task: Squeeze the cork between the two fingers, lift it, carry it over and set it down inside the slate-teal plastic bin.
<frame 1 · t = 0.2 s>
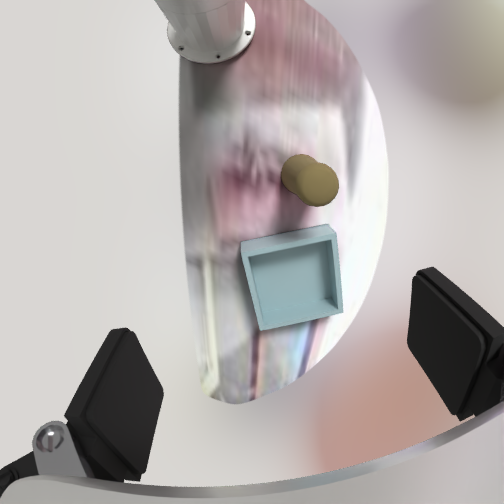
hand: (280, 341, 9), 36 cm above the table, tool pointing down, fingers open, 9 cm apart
cork: (301, 174, 43), on the table
bin: (291, 272, 48), on the table
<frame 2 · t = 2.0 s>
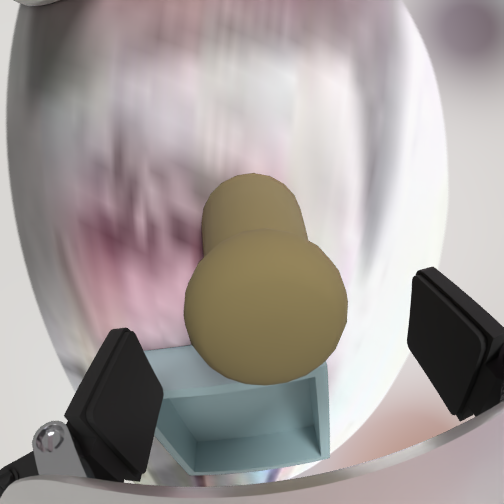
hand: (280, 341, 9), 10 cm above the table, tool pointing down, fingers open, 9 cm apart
cork: (251, 222, 18), on the table
bin: (240, 397, 24), on the table
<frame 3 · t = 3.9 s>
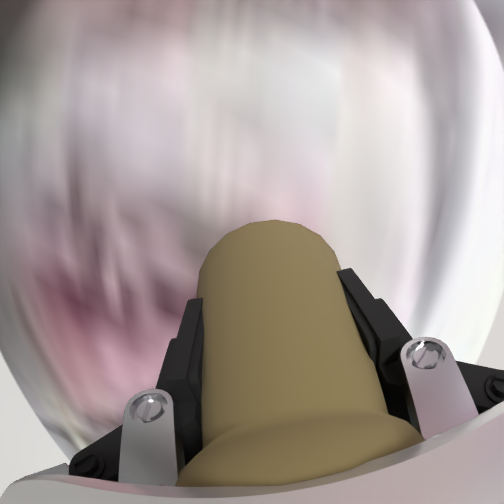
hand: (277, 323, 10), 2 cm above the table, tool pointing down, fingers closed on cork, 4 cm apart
cork: (270, 289, 12), on the table, touching gripper
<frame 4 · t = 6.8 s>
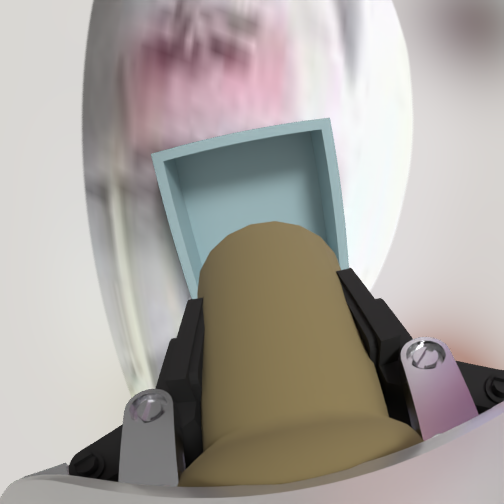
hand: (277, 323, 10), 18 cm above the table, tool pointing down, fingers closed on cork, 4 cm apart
cork: (271, 290, 12), point 16 cm above the table, touching gripper
bin: (255, 207, 27), on the table
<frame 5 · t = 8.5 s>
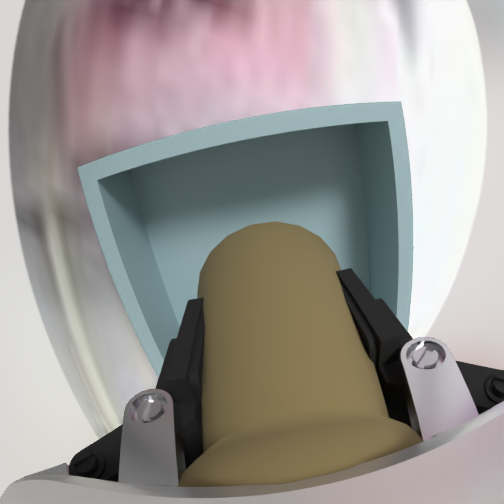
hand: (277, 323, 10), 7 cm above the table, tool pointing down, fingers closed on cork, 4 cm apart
cork: (271, 291, 12), point 5 cm above the table, touching gripper
bin: (262, 247, 17), on the table
when the fingers open (5 cm above the table, at t = 9.8 s): cork drops 2 cm, resting on bin.
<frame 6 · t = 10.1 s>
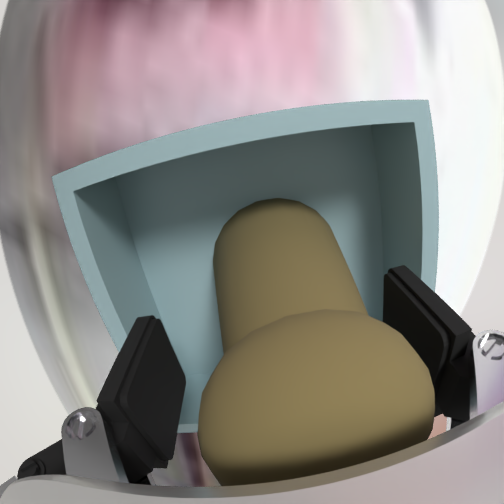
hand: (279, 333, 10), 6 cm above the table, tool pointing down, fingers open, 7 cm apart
cork: (276, 259, 15), resting on bin
bin: (266, 264, 15), on the table
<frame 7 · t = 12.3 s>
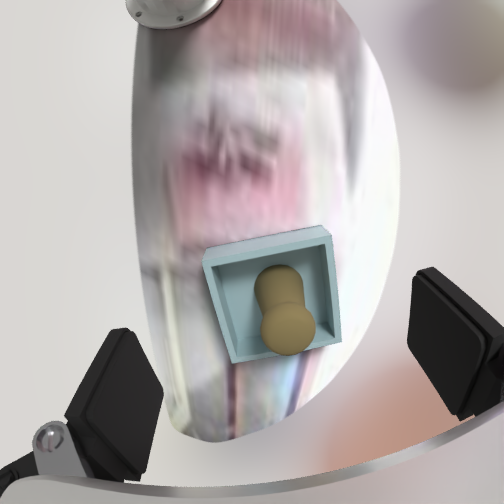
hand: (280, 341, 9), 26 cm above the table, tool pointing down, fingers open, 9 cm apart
cork: (278, 287, 36), resting on bin
bin: (274, 288, 37), on the table
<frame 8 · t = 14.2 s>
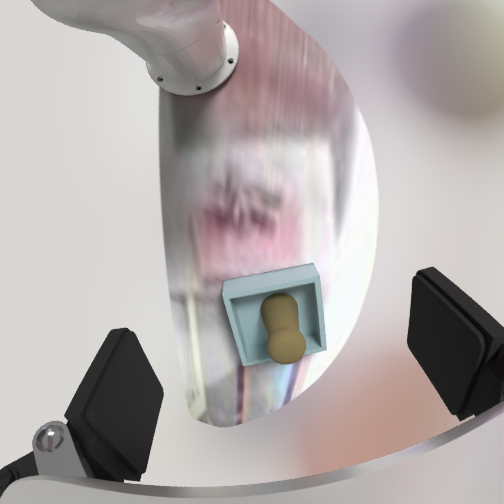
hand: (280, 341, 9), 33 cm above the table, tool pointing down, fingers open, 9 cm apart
cork: (278, 308, 47), resting on bin
bin: (275, 309, 47), on the table
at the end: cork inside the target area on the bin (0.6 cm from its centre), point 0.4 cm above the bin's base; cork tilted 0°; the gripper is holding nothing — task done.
